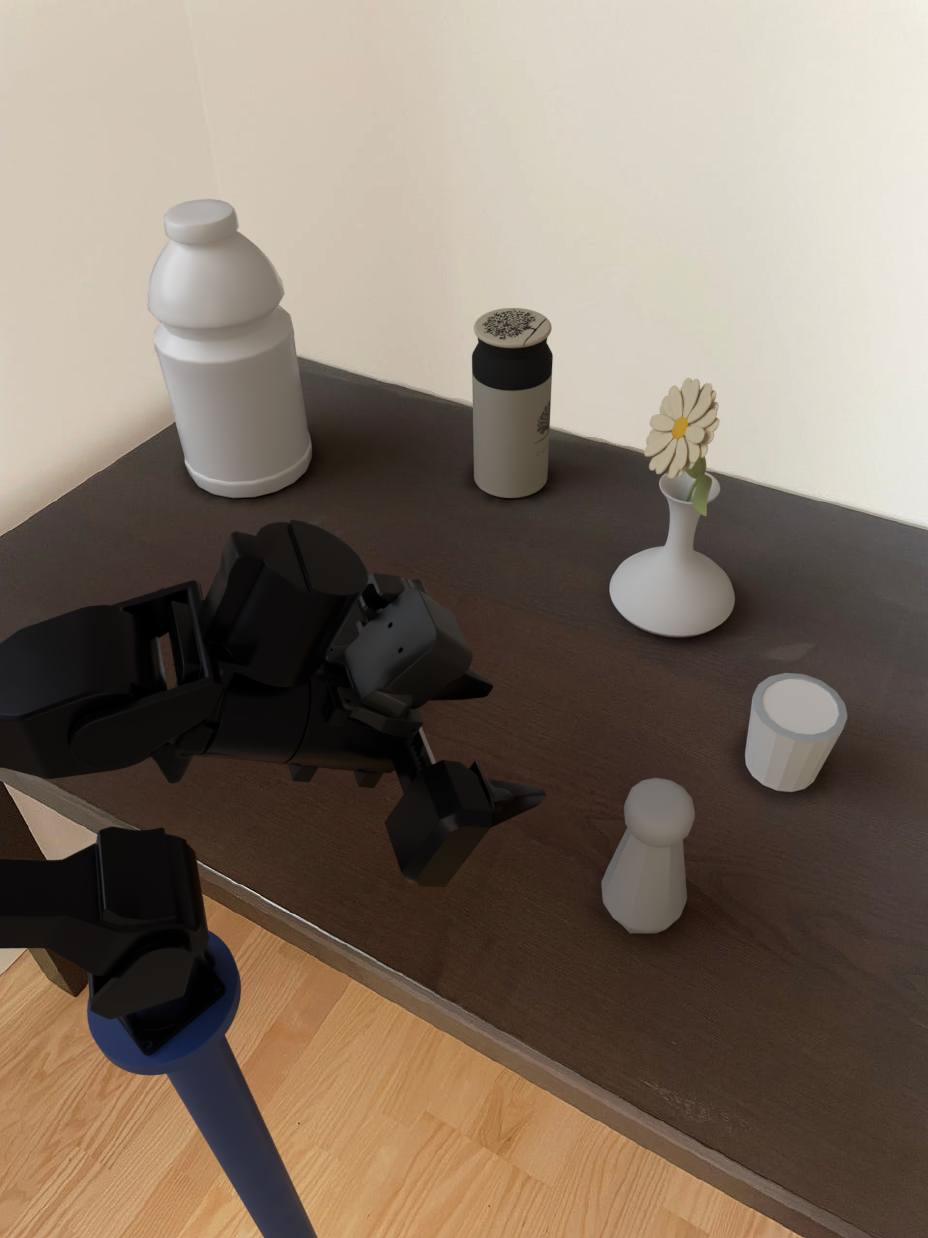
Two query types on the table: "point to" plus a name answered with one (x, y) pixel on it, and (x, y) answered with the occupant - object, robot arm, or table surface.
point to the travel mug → (511, 401)
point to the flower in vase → (678, 526)
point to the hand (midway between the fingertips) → (514, 741)
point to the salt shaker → (650, 858)
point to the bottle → (227, 355)
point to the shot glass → (792, 730)
